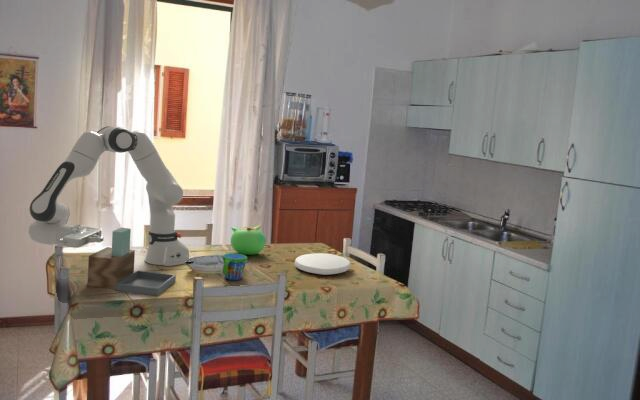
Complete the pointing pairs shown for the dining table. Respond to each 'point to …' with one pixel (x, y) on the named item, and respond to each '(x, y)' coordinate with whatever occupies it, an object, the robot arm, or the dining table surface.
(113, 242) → the teal rectangular block
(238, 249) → the green eared pot
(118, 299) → the dining table surface
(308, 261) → the plate
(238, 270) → the snack cup
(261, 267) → the dining table surface
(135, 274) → the box
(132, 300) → the dining table surface
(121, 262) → the chevron patterned wooden cube
